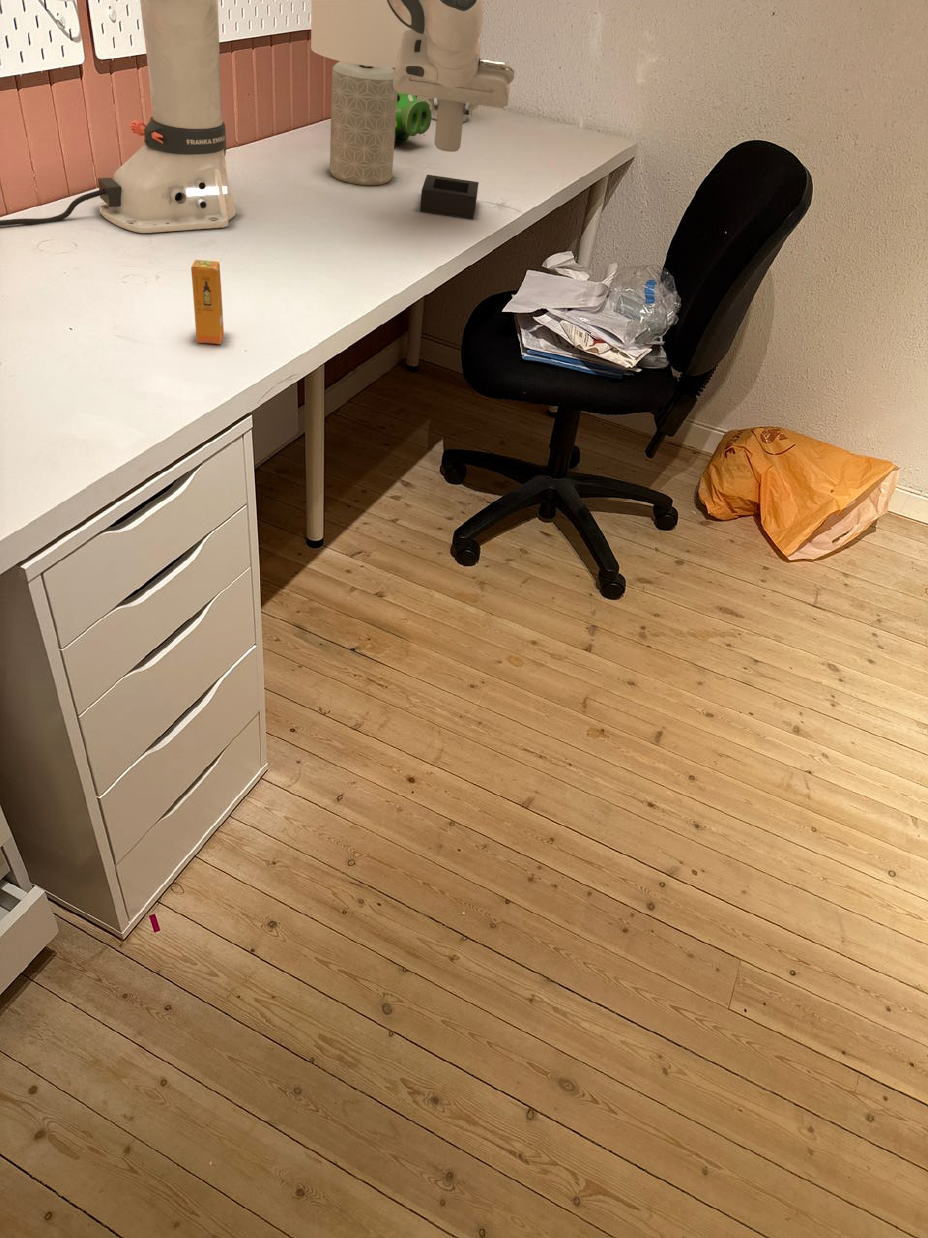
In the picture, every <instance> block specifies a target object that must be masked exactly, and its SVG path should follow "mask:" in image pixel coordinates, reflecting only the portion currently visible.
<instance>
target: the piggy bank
mask: <svg viewBox="0 0 928 1238" xmlns="http://www.w3.org/2000/svg"><path fill="white" fill-rule="evenodd" d="M431 123H432V118H431V110H430V104H428V103H427V102H426V101H425V99H418V96H415V95H408V94H401V93H398V94H397V110H396V125H395V140H394V143H395V142H399V143H406V142H407V140H408V139H409V137H415V136H417V135H423V134H425V133H426V132H427V131H429V129H430V127H431Z"/></svg>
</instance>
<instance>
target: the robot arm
mask: <svg viewBox="0 0 928 1238" xmlns="http://www.w3.org/2000/svg"><path fill="white" fill-rule="evenodd" d="M139 1H140V10H141V19H142V20H141V21H142V29H143V37H144V38H143V39H144V45H145V54H146V63H147V73H148V84H149V92H150V94H149V95H150V106H151V107H150V108H151V117H150V118H149V121H148V123H147V124H146V123H144V122H142V121H141V120H139V119H133V120H132V121H131V123H130V131H132V133H133V134H135V135H136V134H137V135H138V136H140V137H143V136H144V139H143V144H142V145H141V147H140V148H139V149H137V150H136V151H135V152H134V153H133V154H132V155H131V156H130V157H129V158H128V159H127V160H126V161H125V162H124V163H123V164H122V165H120V167H118V168H117V169H116V170H115V171H114V174H113V178H112V177H97V184H98V189H97V190H95V191H91V192H89V193H86V194H83V195H80V196H78V197H77V198H75V199H74V200H73V201H72V202H71V203H70V204H69V205H68V207H67V208H66V210H65V211H64V212H62V213H60V214H58V215H55V216H52V217H51V216H50V217H44V218H11V219H0V227H5V226H15V225H43V224H50V223H56V222H60V221H63V220H65V219H67V218H69V216H71V214H72V213H73V212H74V210H75V208H76V207H77V206H79V205H80V204H82V203H83V202H86V201H88V200H90V199H94V198H97V197H99V198H100V199H101V200H102V201H101V202H100V203H99V213H100V215H101V216H102V217H103V218H105V219H106V220H107V221H109V222H110V223H112V224H114V225H115V226H118V227H119V228H122V229H124V230H128V231H130V232H135V233H139V234H151V233H165V232H177V231H193V230H194V231H195V230H207V229H220V228H221V229H222V228H227V227H228V226H229V221H230V220H231V219H233V218H234V217H235V216H236V214H237V210H236V206H235V203H234V200H233V197H232V193H231V188H230V183H229V177H228V172H227V171H228V170H227V162H226V154H227V134H226V133H227V132H226V124H225V122H224V120H223V105H222V104H223V103H222V102H223V101H222V83H221V82H222V80H221V56H220V31H219V29H220V27H219V0H139ZM387 2H388V4H389V6H390V8H391V10H392V11H393V13H394V14H395V16H396V17H397V18H398V19H399V20H400V21H401V22H402V23H403V24H404V25H406V26H407V27H409V28H410V29H412V30H407V31H405V32H404V35H403V38H402V42H401V47H400V49H399V51H398V54H397V59H396V65H395V68H394V70H395V71H394V79H393V89H394V90H395V91H396V92H398V93H401V94H408V95H415V96H417V97H422V98H423V100H425V101H426V102H427V103H428V104H430V110H436V111H437V108H438V99H442V100H449V101H455V102H462V103H465V106H464V115H467V116H468V117H469V116H470V117H472V114H473V111H474V110H475V109H477V108H478V107H479V106H484V107H490V108H497V109H503V108H506V107H507V106H508V105H509V101H510V100H509V99H510V92H511V83H512V82H513V81H514V79H515V69H514V68H513V67H511V66H510V65H509V64H508V65H507V62H505V61H499V60H498V61H497V60H493V59H492V60H491V59H488V58H487V59H486V58H481V57H480V56H481V44H482V43H481V42H482V41H481V34H482V30H483V21H484V1H483V0H387Z"/></svg>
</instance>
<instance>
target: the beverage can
mask: <svg viewBox="0 0 928 1238" xmlns="http://www.w3.org/2000/svg"><path fill="white" fill-rule="evenodd" d="M464 106H465V103H462V102H455V101H449V100H442V99H438V108H437V119H436V120H435V130H434V142H433V143H434V146H435V148H436V150H439V151H443V152H449V153H454V152H458V151H459V150H460V148H461V144H462V136H463V128H464V127H463V126H464V122H463V117H464Z"/></svg>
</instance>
